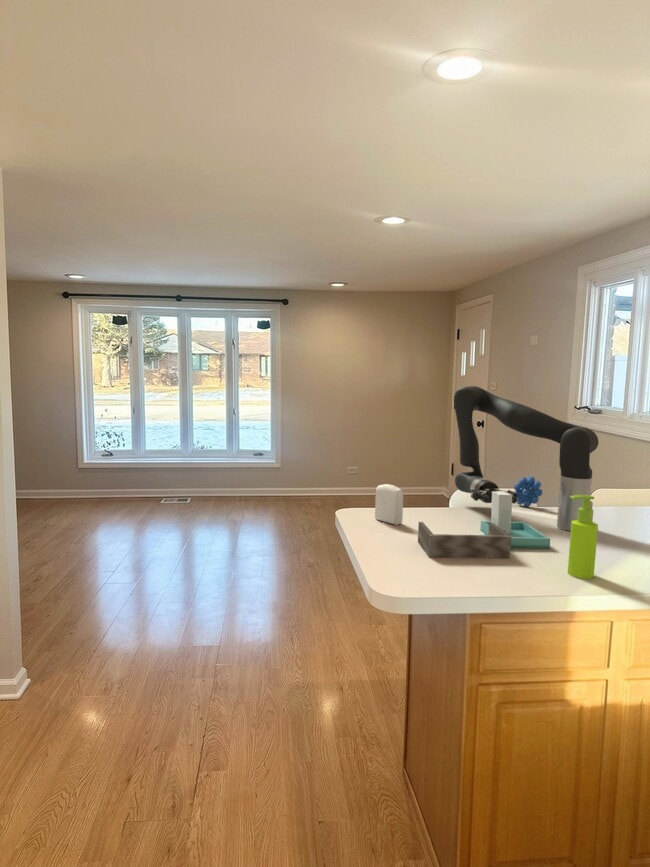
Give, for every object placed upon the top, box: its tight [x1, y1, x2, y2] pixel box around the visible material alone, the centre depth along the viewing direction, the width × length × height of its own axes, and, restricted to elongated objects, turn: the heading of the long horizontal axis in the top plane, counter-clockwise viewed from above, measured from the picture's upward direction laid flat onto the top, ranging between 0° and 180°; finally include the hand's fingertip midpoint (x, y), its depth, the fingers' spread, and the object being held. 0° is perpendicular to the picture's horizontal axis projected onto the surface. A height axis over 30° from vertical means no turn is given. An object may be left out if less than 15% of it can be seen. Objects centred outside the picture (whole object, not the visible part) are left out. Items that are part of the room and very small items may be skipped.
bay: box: [417, 521, 512, 559], centre depth 149 cm, size 22×14×6 cm, turn 93°
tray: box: [479, 520, 551, 550], centre depth 161 cm, size 14×18×3 cm
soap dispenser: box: [567, 495, 599, 580], centre depth 132 cm, size 6×7×20 cm
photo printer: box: [374, 483, 404, 526], centre depth 177 cm, size 10×4×12 cm, turn 39°
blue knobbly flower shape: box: [513, 476, 543, 508], centre depth 205 cm, size 12×7×12 cm, turn 42°
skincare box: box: [490, 490, 513, 534], centre depth 166 cm, size 6×4×12 cm
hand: (501, 500), depth 171 cm, fingers open, 8 cm apart
